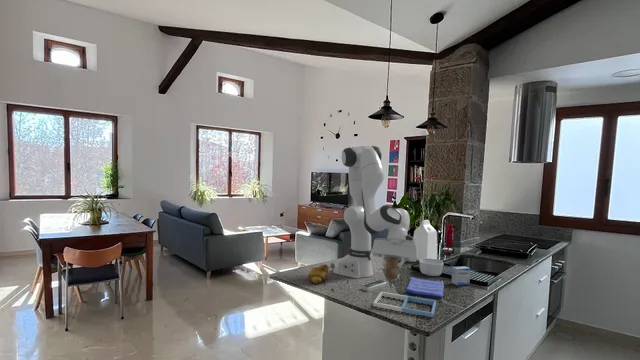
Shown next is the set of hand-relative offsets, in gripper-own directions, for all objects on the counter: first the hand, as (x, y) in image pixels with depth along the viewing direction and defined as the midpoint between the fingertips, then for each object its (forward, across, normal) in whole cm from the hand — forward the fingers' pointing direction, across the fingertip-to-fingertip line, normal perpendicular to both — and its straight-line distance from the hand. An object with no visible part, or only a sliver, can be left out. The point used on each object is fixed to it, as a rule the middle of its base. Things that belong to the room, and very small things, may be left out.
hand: (391, 266), depth 148 cm
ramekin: (-27, +12, +51) cm, 59 cm away
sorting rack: (+12, +6, +12) cm, 18 cm away
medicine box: (-19, +28, +42) cm, 54 cm away
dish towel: (-7, +12, +32) cm, 35 cm away
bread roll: (+3, -41, +22) cm, 47 cm away
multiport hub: (0, -11, +25) cm, 27 cm away
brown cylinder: (+3, 0, +4) cm, 5 cm away
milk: (-48, +5, +73) cm, 88 cm away
